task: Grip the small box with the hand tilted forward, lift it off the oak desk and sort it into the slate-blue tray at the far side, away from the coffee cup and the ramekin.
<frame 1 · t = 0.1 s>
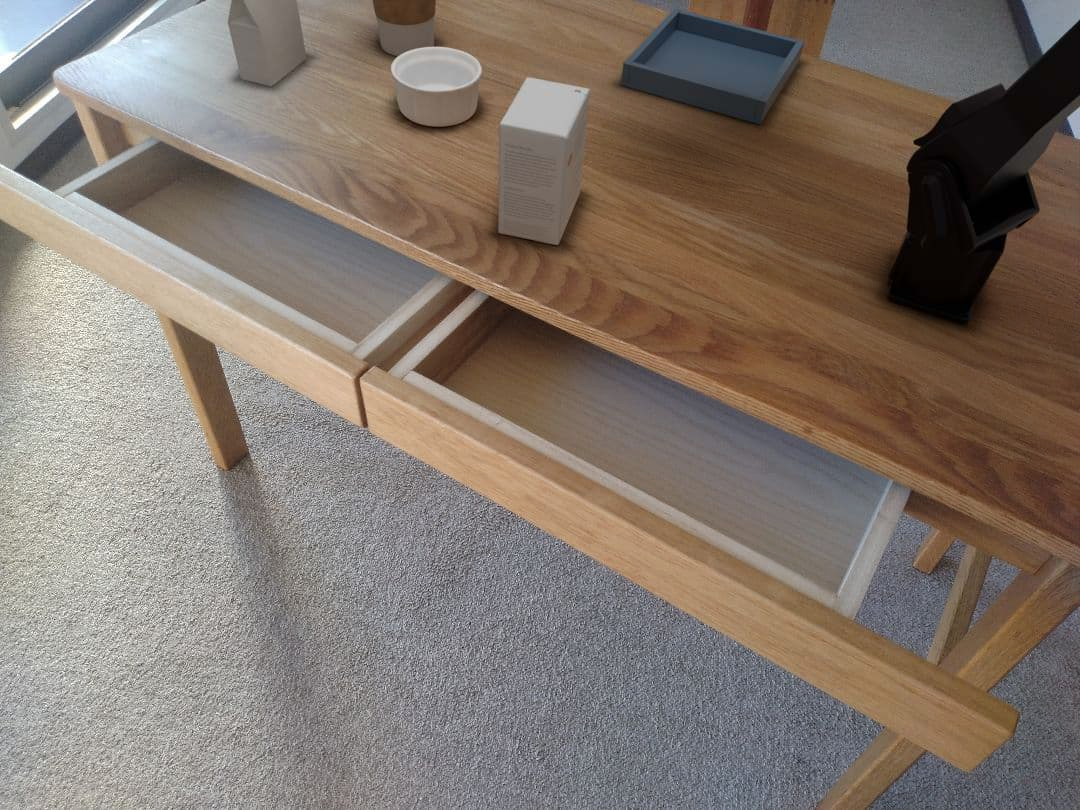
coffee cup: (407, 46, 94), on the table
grey carton: (274, 70, 89), on the table
ramekin: (438, 109, 85), on the table
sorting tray: (712, 73, 93), on the table
small box: (539, 216, 74), on the table
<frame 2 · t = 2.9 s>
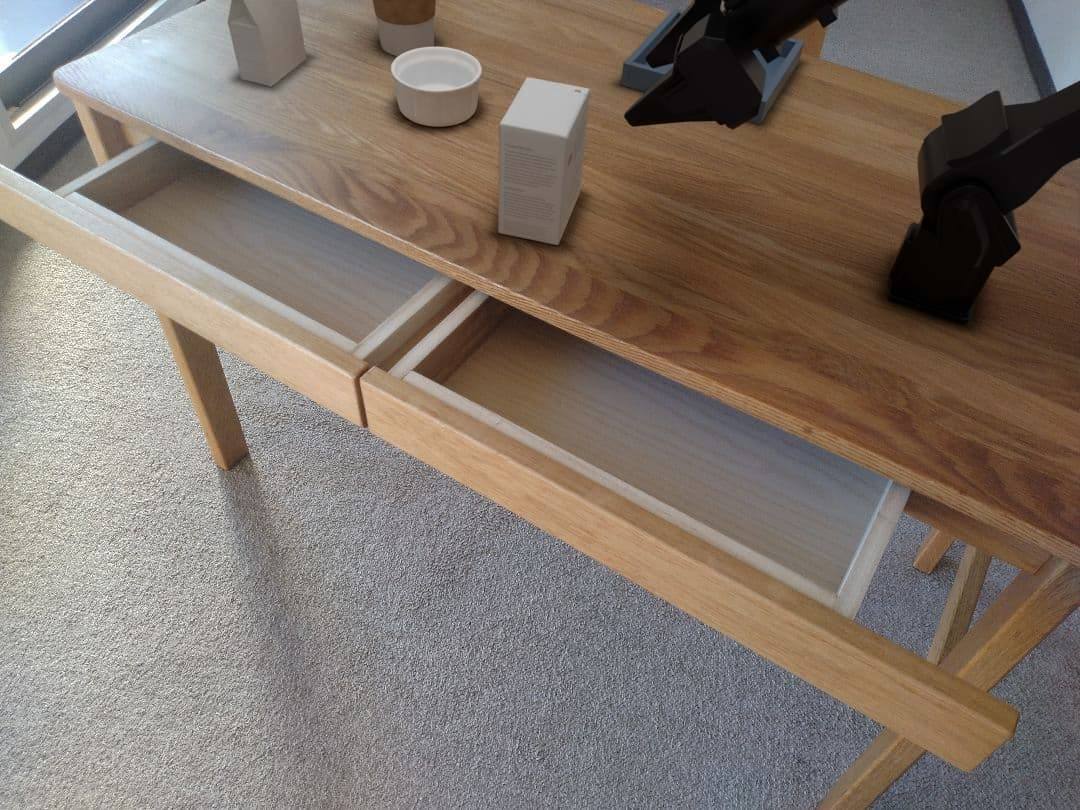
hand: (638, 90, 63), 13 cm above the table, tool tilted 45°, fingers open, 9 cm apart
nothing on the table moved.
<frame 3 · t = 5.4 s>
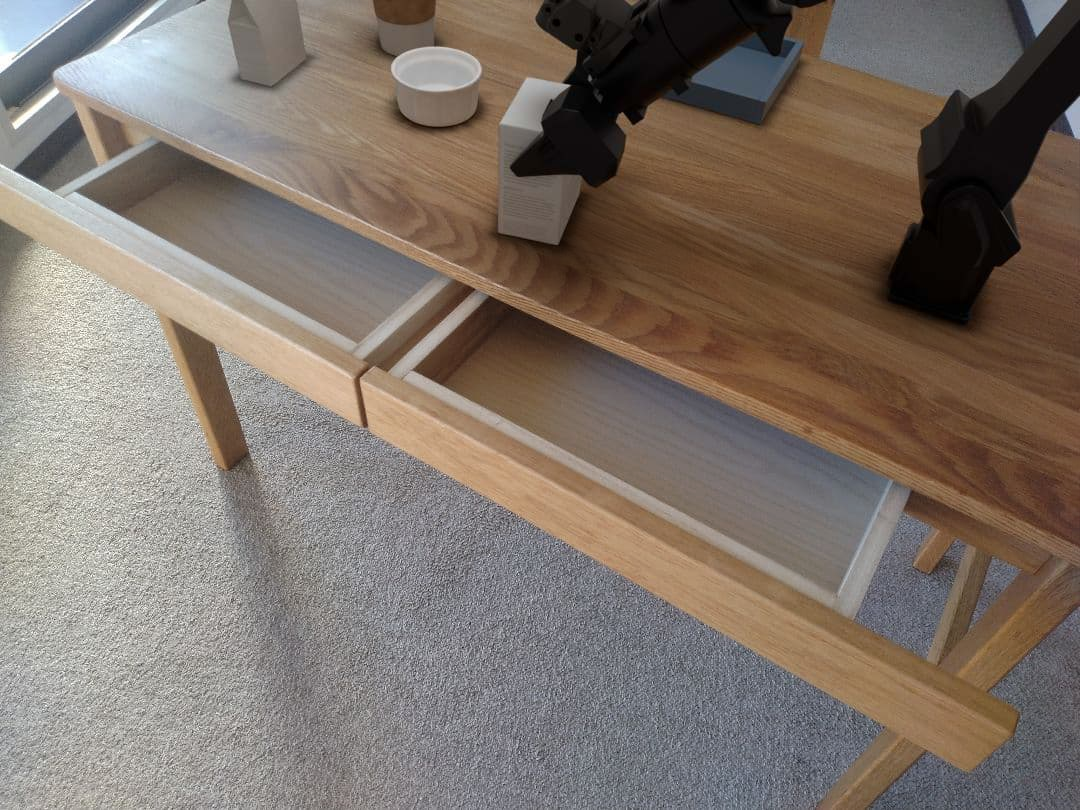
hand: (527, 144, 69), 7 cm above the table, tool tilted 45°, fingers closed on small box, 8 cm apart
small box: (539, 216, 74), on the table, touching gripper
everything else where it was.
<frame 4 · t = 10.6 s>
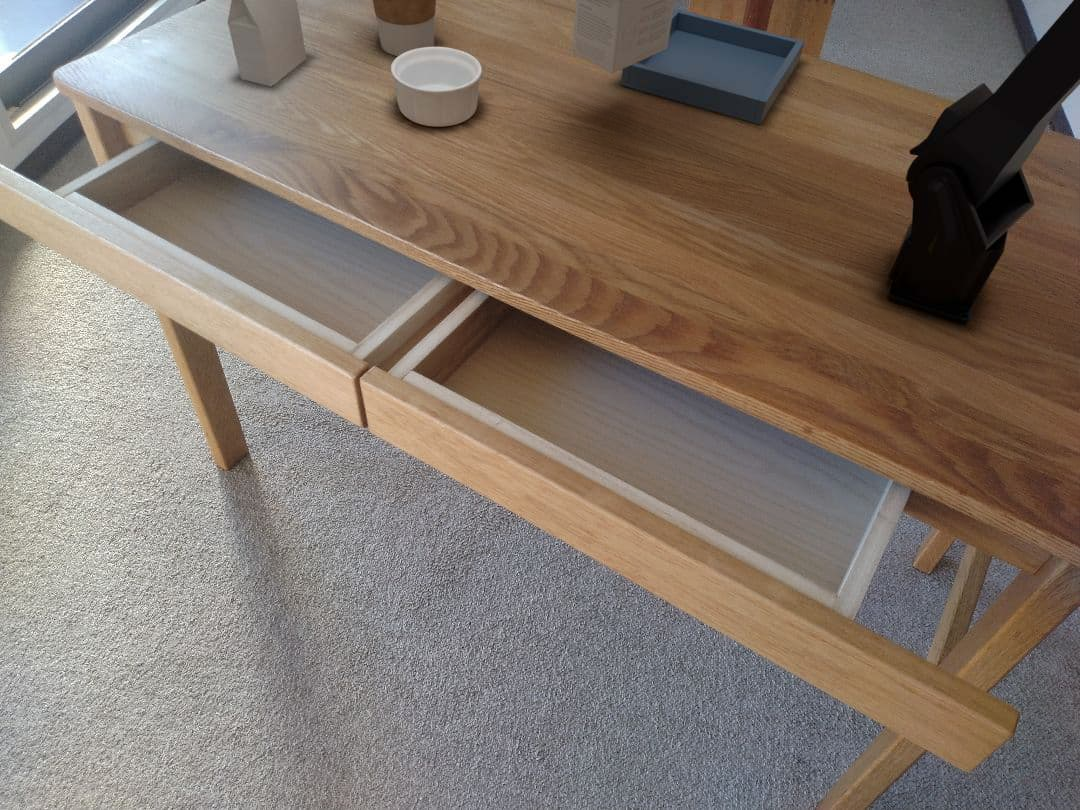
small box: (619, 54, 81), point 7 cm above the table, touching gripper
everything else where it was.
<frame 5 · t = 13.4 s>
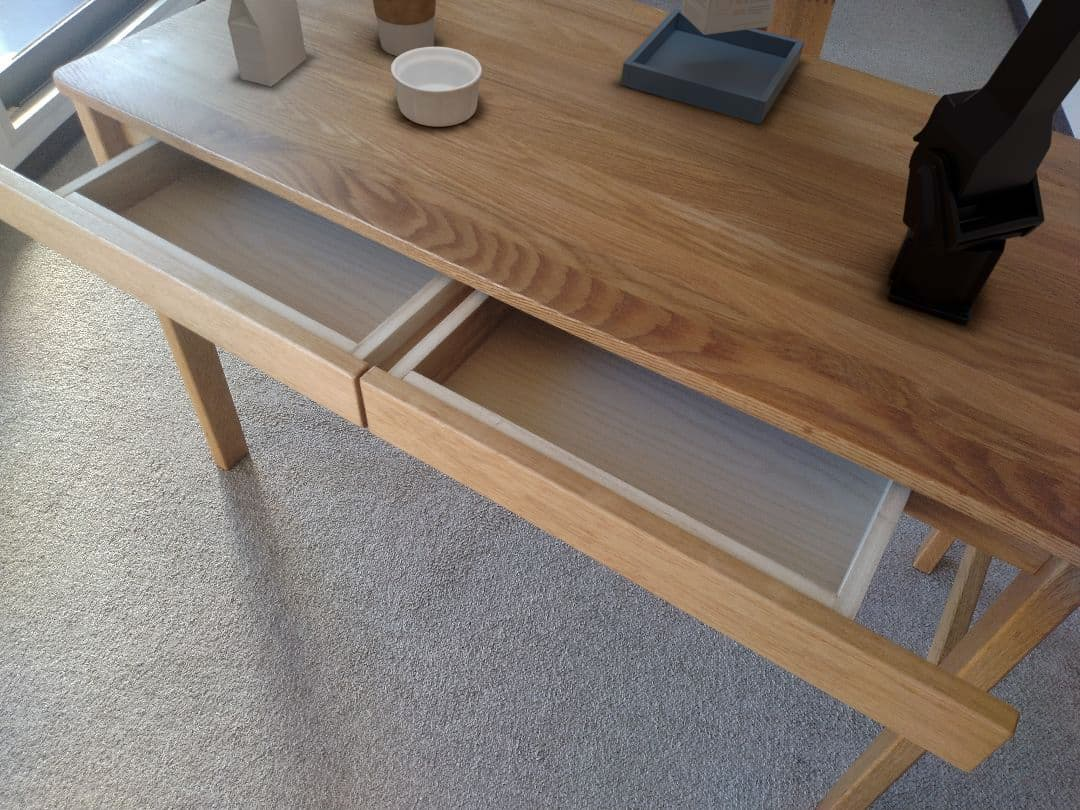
small box: (724, 22, 88), point 6 cm above the table, touching gripper
everything else where it was.
when the fingers open (7 cm above the table, at t = 15.6 s): small box stays where it is, resting on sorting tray.
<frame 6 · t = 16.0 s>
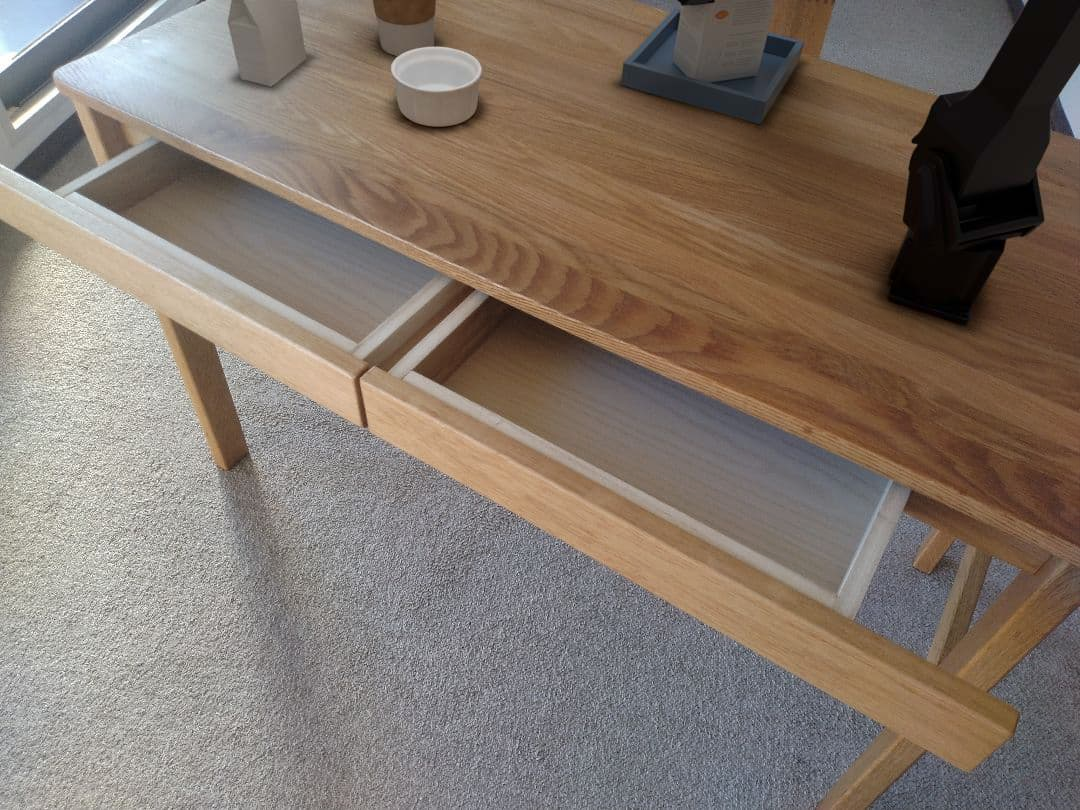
small box: (713, 71, 92), resting on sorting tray
everything else where it was.
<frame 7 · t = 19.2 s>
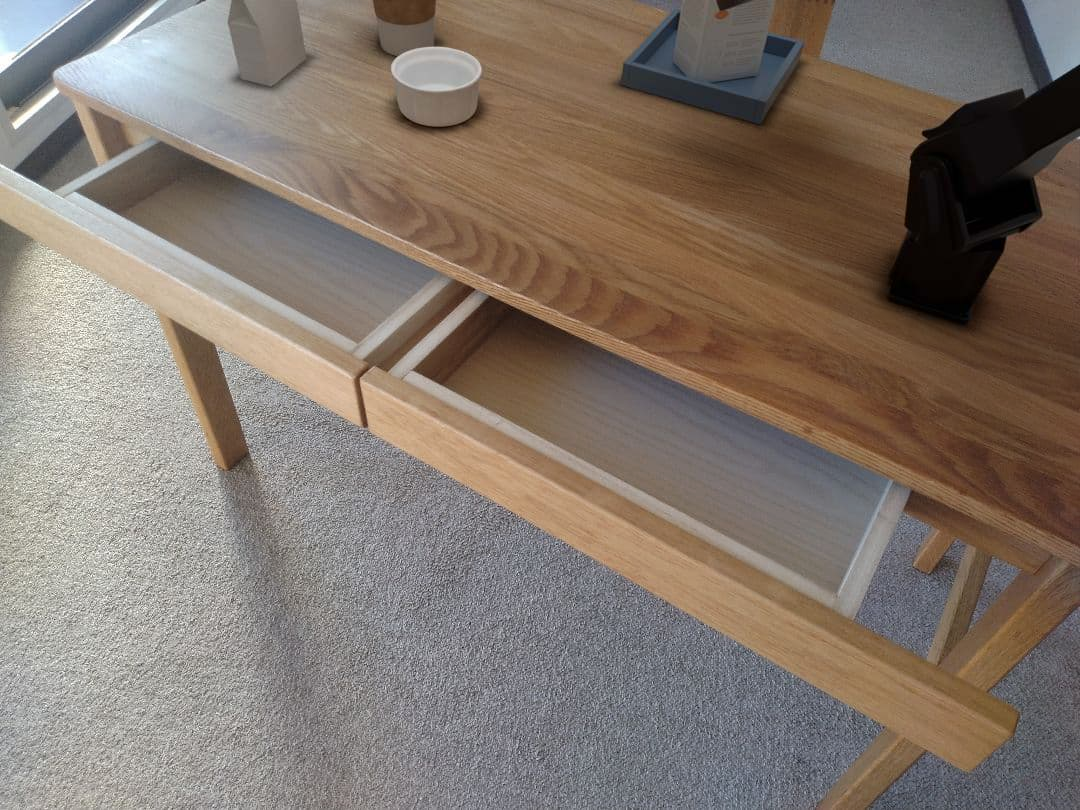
nothing on the table moved.
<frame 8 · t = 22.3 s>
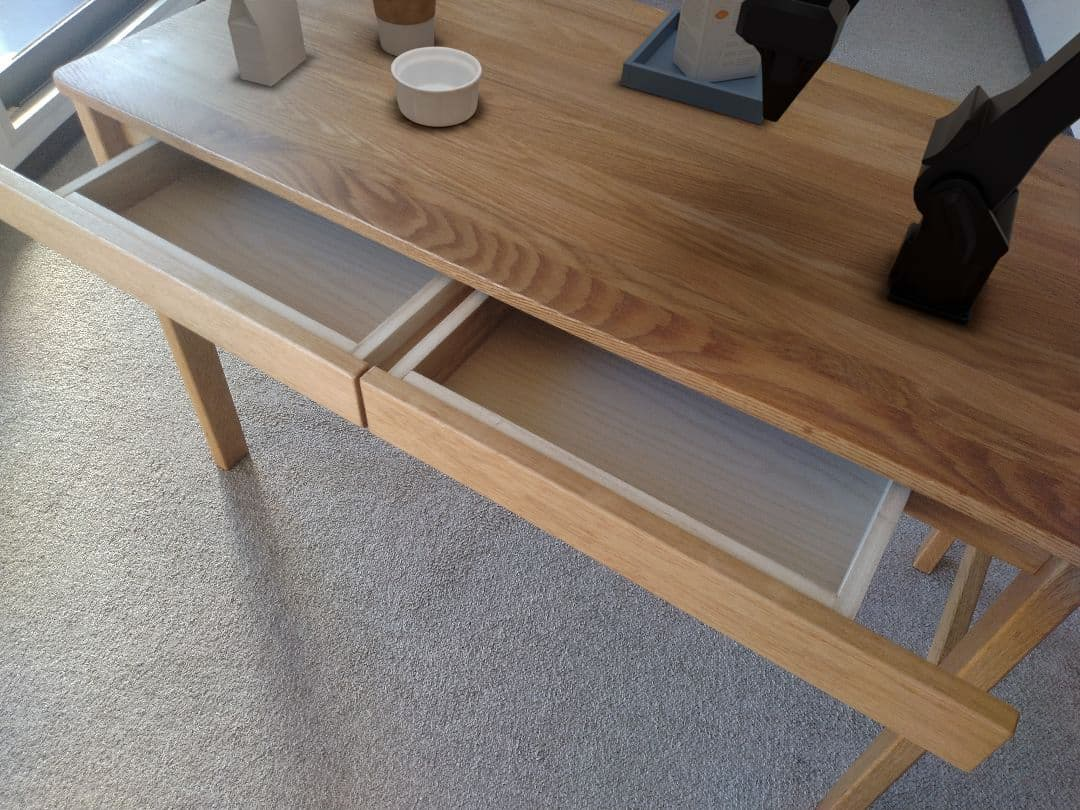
hand: (786, 92, 64), 13 cm above the table, tool pointing down, fingers open, 9 cm apart
nothing on the table moved.
at the end: small box inside the target area in the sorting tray (0.1 cm from its centre), point 0.3 cm above the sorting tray's base; small box tilted 0°; the gripper is holding nothing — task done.
